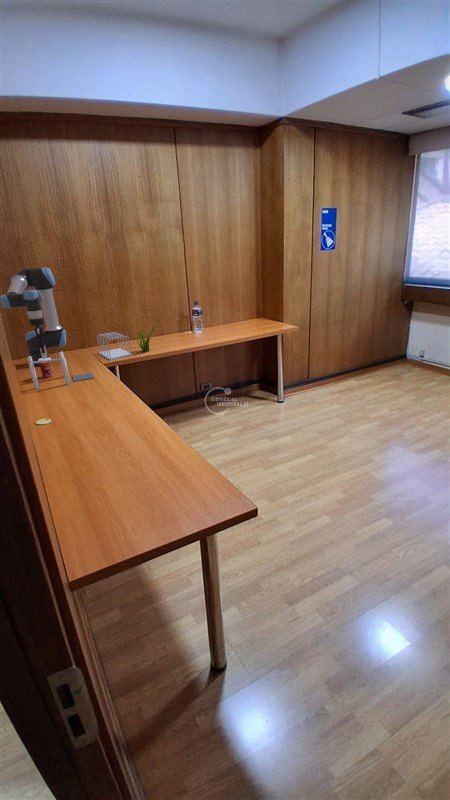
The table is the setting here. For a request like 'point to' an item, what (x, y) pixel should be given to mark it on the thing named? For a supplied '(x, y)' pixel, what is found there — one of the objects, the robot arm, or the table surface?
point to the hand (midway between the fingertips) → (44, 357)
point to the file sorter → (115, 352)
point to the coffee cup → (46, 368)
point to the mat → (83, 377)
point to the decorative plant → (145, 343)
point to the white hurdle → (62, 359)
